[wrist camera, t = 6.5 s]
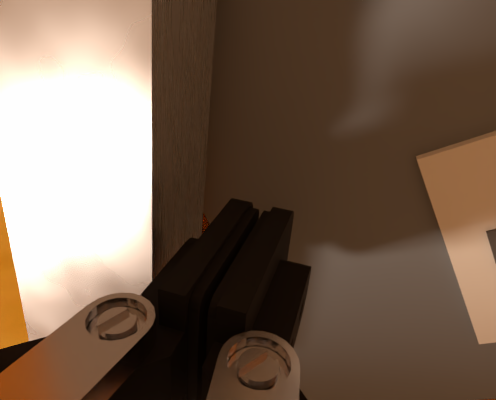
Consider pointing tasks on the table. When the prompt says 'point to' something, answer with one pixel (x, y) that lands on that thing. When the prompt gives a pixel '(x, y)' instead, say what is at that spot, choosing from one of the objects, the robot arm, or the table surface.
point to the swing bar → (101, 144)
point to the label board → (370, 182)
